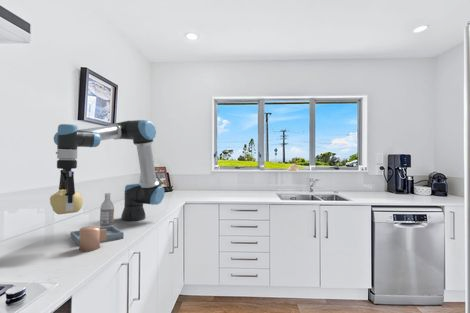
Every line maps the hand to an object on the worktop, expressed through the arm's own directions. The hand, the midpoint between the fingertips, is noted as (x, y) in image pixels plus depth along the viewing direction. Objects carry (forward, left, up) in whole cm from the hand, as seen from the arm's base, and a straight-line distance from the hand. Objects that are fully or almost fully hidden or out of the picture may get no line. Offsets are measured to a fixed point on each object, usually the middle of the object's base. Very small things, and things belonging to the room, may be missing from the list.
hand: (66, 208), depth 121 cm
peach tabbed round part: (-10, +6, -18) cm, 21 cm away
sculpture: (0, 0, -2) cm, 2 cm away
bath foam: (-24, -23, -18) cm, 38 cm away
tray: (-15, -8, -18) cm, 25 cm away
